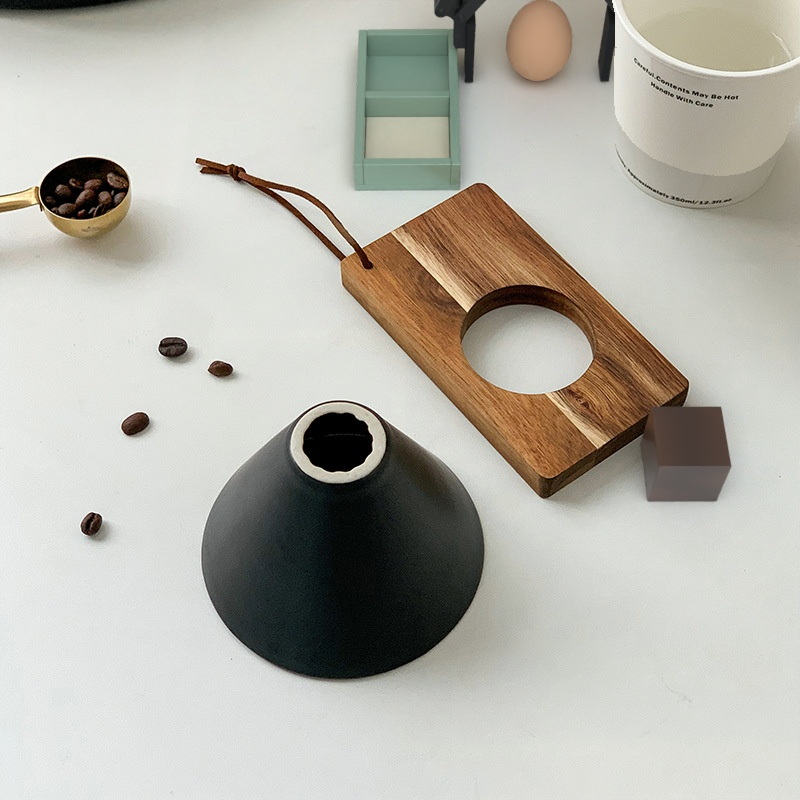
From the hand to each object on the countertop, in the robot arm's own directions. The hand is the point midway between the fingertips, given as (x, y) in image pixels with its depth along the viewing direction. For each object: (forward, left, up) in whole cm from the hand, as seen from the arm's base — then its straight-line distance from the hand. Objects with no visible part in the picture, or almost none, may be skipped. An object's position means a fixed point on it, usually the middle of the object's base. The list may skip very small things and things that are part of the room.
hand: (535, 72), depth 112 cm
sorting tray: (+12, +6, 0) cm, 13 cm away
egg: (0, 0, 0) cm, 0 cm away
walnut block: (-8, +43, 0) cm, 44 cm away
